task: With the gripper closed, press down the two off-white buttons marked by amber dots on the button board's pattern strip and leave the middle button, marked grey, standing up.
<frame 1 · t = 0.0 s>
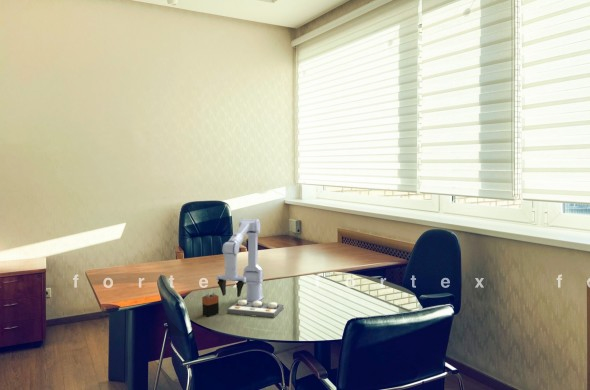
hand: (231, 295, 226), 10 cm above the table, tool pointing down, fingers open, 7 cm apart
button 3: (272, 305, 235), point 3 cm above the table, slide at 0.0 cm
button 1: (242, 303, 239), point 3 cm above the table, slide at 0.0 cm
battery: (210, 315, 230), on the table
button board: (255, 310, 235), on the table
button 2: (257, 304, 237), point 3 cm above the table, slide at 0.0 cm
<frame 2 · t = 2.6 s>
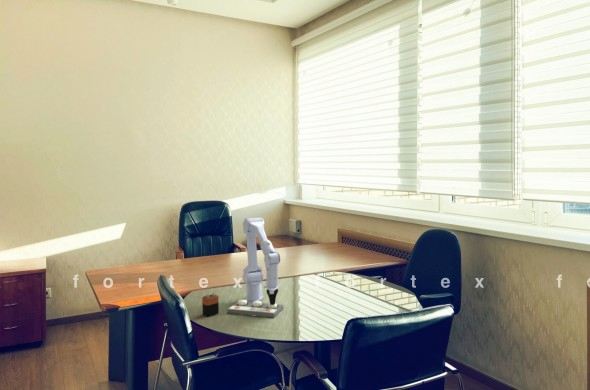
hand: (272, 304, 235), 3 cm above the table, tool pointing down, fingers closed, pressing on button 3
button 3: (272, 306, 235), point 2 cm above the table, slide at 0.4 cm, touching gripper
everything else where it was.
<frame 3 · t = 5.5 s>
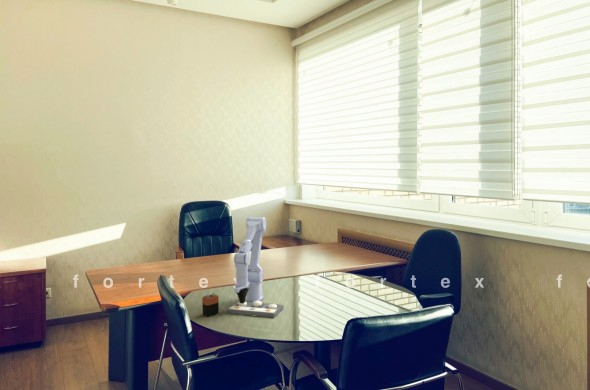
hand: (242, 303, 239), 3 cm above the table, tool pointing down, fingers closed, pressing on button 1
button 3: (272, 308, 235), point 2 cm above the table, slide at 1.1 cm
button 1: (242, 305, 239), point 2 cm above the table, slide at 1.0 cm, touching gripper
everything else where it was.
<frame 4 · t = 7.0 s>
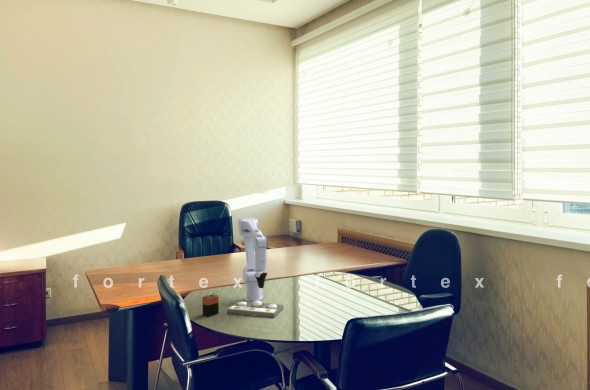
hand: (261, 287, 239), 10 cm above the table, tool pointing down, fingers closed
button 1: (242, 305, 239), point 2 cm above the table, slide at 1.1 cm
everything else where it was.
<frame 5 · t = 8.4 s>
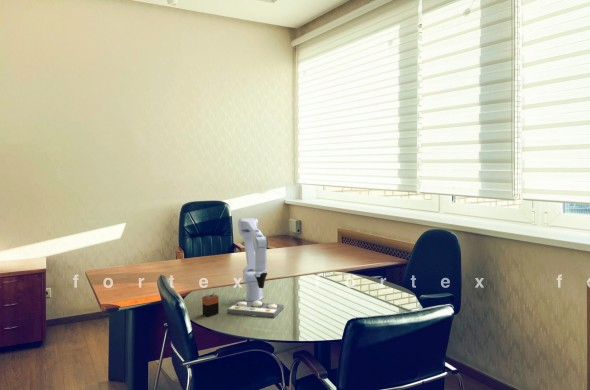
hand: (261, 287, 239), 10 cm above the table, tool pointing down, fingers closed
nothing on the table moved.
at the end: button 1 slide at 1.1 cm; button 3 slide at 1.1 cm; button 2 slide at 0.0 cm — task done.
